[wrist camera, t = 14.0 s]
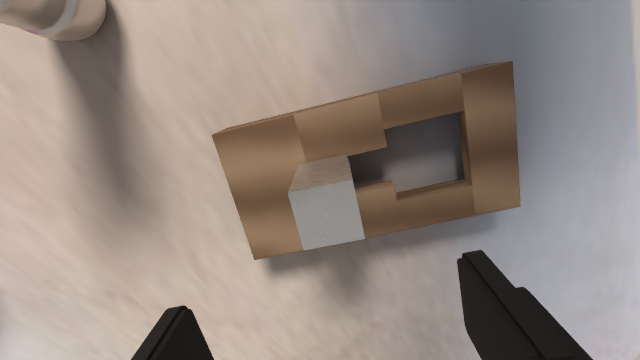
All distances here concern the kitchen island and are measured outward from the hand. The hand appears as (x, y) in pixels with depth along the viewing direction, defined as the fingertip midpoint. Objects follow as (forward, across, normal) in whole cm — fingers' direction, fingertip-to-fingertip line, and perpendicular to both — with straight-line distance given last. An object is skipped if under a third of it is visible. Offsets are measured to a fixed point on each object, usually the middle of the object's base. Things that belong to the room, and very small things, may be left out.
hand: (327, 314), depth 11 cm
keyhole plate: (+20, -3, +1) cm, 21 cm away
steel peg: (+20, 0, +1) cm, 20 cm away
